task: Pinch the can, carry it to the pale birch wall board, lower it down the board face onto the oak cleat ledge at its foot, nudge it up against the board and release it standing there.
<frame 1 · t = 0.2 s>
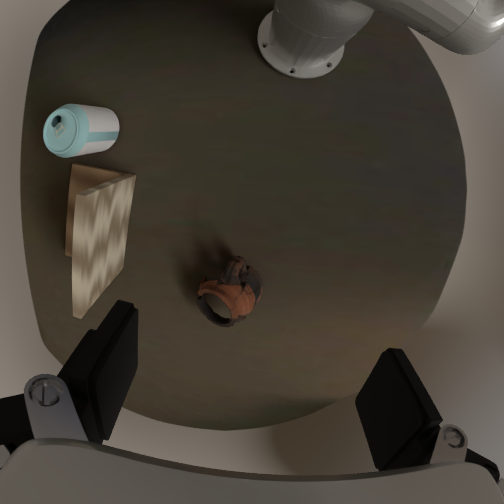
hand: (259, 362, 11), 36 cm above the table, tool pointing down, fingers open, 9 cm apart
can: (101, 129, 41), on the table
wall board: (124, 223, 46), on the table
vr controller: (232, 279, 50), on the table
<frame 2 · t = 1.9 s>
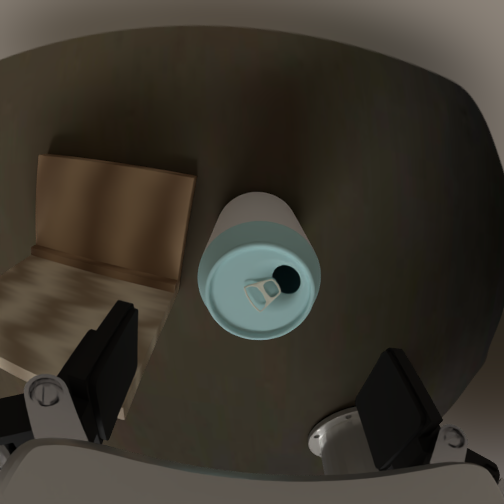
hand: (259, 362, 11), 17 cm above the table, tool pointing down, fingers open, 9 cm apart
can: (256, 229, 27), on the table
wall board: (104, 268, 28), on the table
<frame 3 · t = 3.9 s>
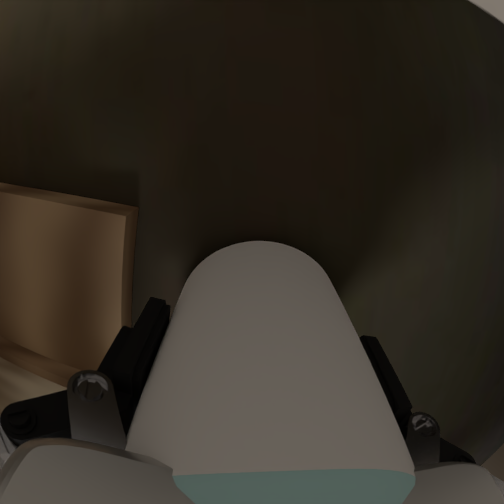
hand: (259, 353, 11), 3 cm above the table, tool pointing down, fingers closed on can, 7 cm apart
can: (258, 305, 14), on the table, touching gripper
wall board: (26, 344, 15), on the table
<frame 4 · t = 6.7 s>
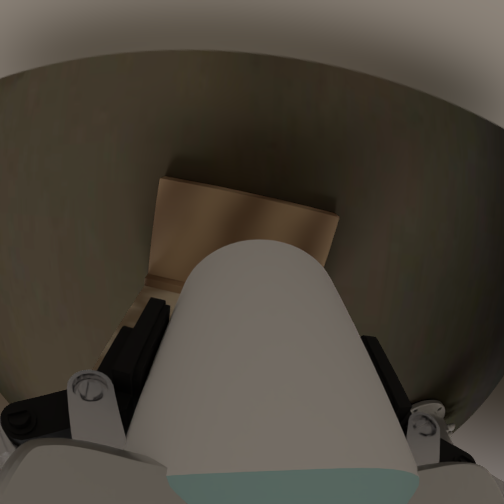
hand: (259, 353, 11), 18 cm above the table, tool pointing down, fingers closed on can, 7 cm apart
can: (258, 304, 14), point 15 cm above the table, touching gripper
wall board: (227, 296, 31), on the table
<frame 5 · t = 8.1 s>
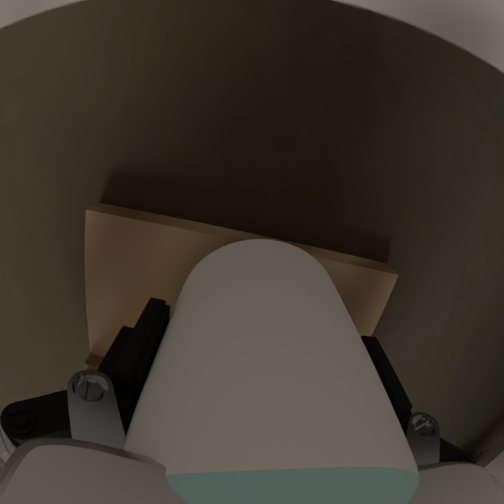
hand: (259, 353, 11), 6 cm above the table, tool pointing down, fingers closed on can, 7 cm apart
can: (258, 304, 14), point 2 cm above the table, touching gripper
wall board: (213, 382, 19), on the table
when the fingers open (6 cm above the table, at t = 9.4 s): can stays where it is, resting on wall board.
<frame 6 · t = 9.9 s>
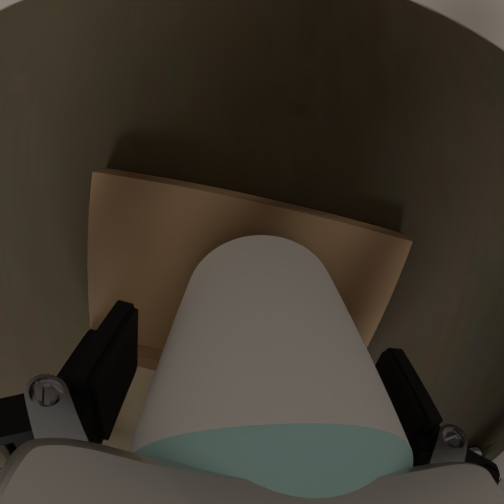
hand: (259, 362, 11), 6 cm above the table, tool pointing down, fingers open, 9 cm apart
can: (260, 297, 15), point 1 cm above the table, touching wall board
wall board: (219, 363, 18), on the table
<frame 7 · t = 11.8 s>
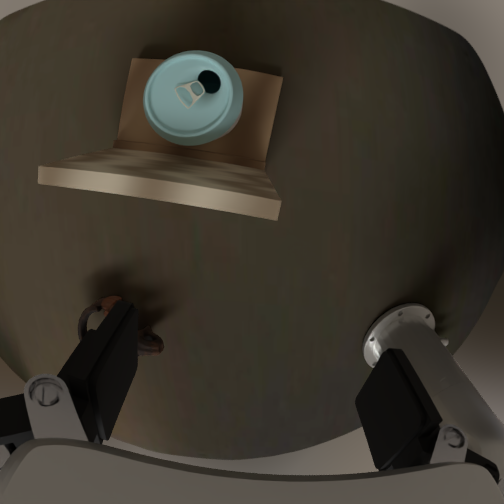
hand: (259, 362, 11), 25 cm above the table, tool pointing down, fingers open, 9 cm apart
can: (207, 107, 28), point 1 cm above the table, touching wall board
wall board: (188, 159, 32), on the table
vr controller: (129, 322, 40), on the table
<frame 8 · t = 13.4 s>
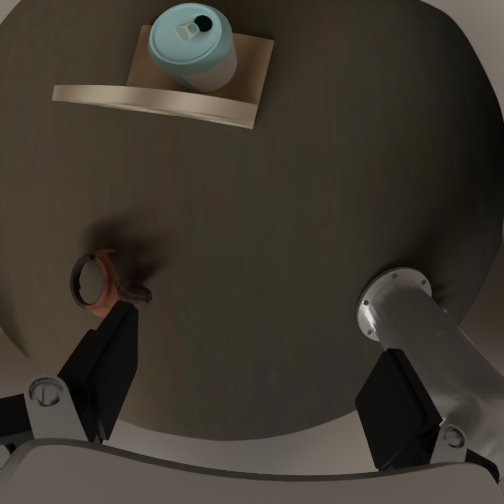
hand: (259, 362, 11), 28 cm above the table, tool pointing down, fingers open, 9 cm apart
can: (206, 65, 30), point 1 cm above the table, touching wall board
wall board: (187, 112, 33), on the table
vr controller: (121, 278, 41), on the table
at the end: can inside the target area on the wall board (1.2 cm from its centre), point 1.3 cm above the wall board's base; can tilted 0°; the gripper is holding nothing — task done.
